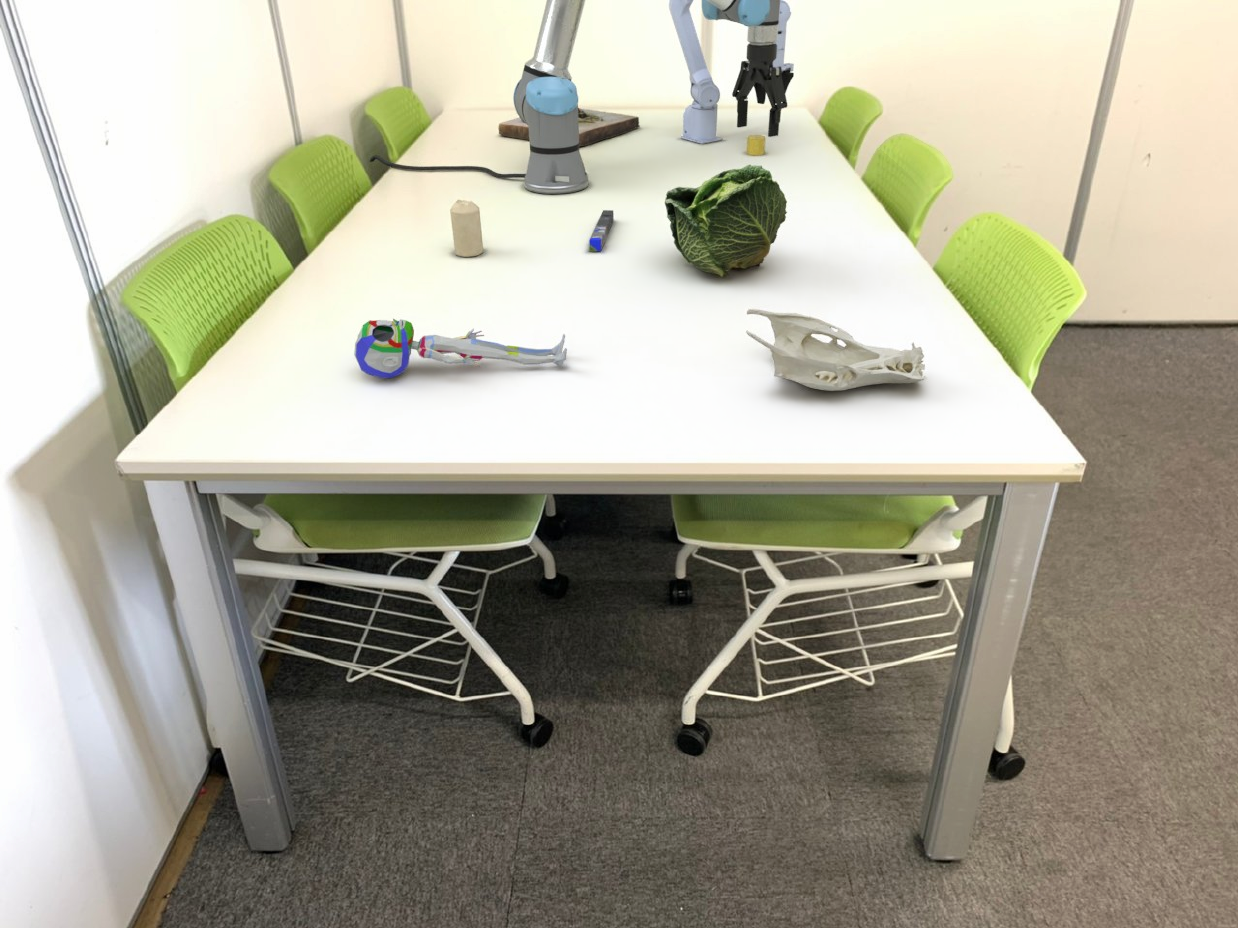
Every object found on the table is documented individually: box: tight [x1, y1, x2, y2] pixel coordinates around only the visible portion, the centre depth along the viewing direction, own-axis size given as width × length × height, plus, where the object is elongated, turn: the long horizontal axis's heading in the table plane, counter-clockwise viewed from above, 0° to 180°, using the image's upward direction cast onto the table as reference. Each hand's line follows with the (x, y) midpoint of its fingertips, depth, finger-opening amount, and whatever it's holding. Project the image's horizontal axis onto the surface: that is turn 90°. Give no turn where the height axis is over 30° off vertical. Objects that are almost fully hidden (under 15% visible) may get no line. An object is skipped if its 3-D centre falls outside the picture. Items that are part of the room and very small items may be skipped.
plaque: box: [498, 107, 641, 148], centre depth 262 cm, size 30×7×30 cm
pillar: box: [588, 209, 615, 252], centre depth 182 cm, size 2×2×20 cm
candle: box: [449, 199, 484, 258], centre depth 172 cm, size 6×6×10 cm
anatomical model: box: [745, 308, 927, 392], centre depth 125 cm, size 15×9×25 cm
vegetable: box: [664, 164, 788, 278], centre depth 161 cm, size 20×19×20 cm
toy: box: [353, 318, 568, 379], centre depth 130 cm, size 10×8×30 cm
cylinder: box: [745, 134, 766, 156], centre depth 239 cm, size 5×5×4 cm
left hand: (757, 131), depth 236 cm, fingers open, 13 cm apart
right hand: (770, 101), depth 251 cm, fingers open, 7 cm apart
